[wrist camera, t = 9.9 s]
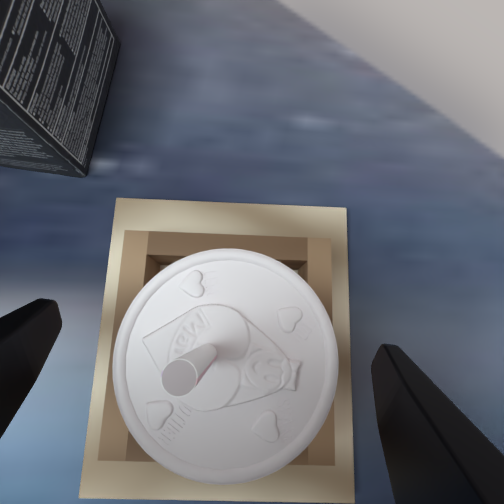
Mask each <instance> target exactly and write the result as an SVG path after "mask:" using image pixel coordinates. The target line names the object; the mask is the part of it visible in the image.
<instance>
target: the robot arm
mask: <svg viewBox="0 0 504 504" xmlns="http://www.w3.org/2000/svg"><path fill="white" fill-rule="evenodd" d="M61 327H62V319H61V316H60V312H59V308H58V304H57V302H56V301H55V300H50V299H43V298H40V299H37V300H35V301H33V302H31V303H29V304H27V305H25V306H23V307H21V308H19V309H17V310H15V311H13V312H11V313H9V314H7V315H5V316H3V317H1V318H0V438H1V437H2V435H3V434H4V432H5V430H6V429H7V427H8V426H9V424H10V422H11V421H12V419H13V417H14V416H15V414H16V413H17V411H18V409H19V408H20V406H21V405H22V403H23V401H24V400H25V398H26V396H27V395H28V393H29V392H30V390H31V388H32V387H33V385H34V383H35V381H36V380H37V378H38V376H39V374H40V372H41V370H42V368H43V366H44V364H45V362H46V360H47V357H48V355H49V353H50V351H51V349H52V347H53V345H54V343H55V341H56V339H57V337H58V335H59V333H60V330H61ZM371 373H372V382H373V391H374V399H375V408H376V416H377V423H378V429H379V434H380V438H381V443H382V447H383V451H384V456H385V460H386V465H387V469H388V473H389V478H390V482H391V486H392V491H393V495H394V500H395V504H504V455H503V454H502V453H501V452H500V451H499V450H498V449H497V448H496V447H495V446H494V445H493V444H492V443H491V442H490V441H489V440H488V439H487V438H486V436H485V435H484V434H483V433H482V432H481V431H480V430H479V429H478V428H477V427H476V426H475V425H474V424H473V423H472V422H471V421H470V420H469V419H468V418H467V417H466V416H465V415H464V414H463V413H462V412H461V411H460V410H459V409H458V408H457V407H456V405H455V404H454V403H453V402H452V401H451V400H450V399H449V398H448V397H447V396H446V395H445V394H444V393H443V392H442V391H441V390H440V389H439V388H438V387H437V386H436V385H435V384H434V383H433V382H432V381H431V380H430V379H429V378H428V377H427V375H426V374H425V373H424V372H423V371H422V370H421V369H420V368H419V367H418V366H417V365H416V364H415V363H414V362H413V361H412V360H411V359H410V358H409V357H408V356H407V355H406V354H405V353H404V352H403V351H402V350H401V349H400V348H399V347H398V346H396V345H391V344H382V345H380V347H379V349H378V351H377V353H376V355H375V358H374V360H373V362H372V365H371Z"/></svg>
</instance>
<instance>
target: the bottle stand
mask: <svg viewBox="0 0 504 504" xmlns="http://www.w3.org/2000/svg"><path fill="white" fill-rule="evenodd" d="M214 249H242V250H248V251H253V252H256V253H260V254H263V255H266V256H268V257H271V258H273V259H275V260H277V261H279V262H281V263H282V264H284V265H286V266H287V267H289V268H290V269H292V270H293V271H294V272H295V273H297V274H298V275H299V276H300V277H301V278H302V279H303V280H304V281H305V282H306V283H307V284H308V285H309V286H310V287H311V288H312V289H313V291H314V292H315V294H316V295H317V296H318V298H319V299H320V301H321V303H322V304H323V306H324V308H325V310H326V312H327V314H328V316H329V318H330V321H331V324H332V327H333V330H334V334H335V337H336V343H337V349H338V361H339V363H338V379H337V386H336V391H335V396H334V399H333V402H332V405H331V408H330V411H329V413H328V415H327V418H326V420H325V421H324V423H323V425H322V427H321V429H320V430H319V432H318V433H317V435H316V436H315V438H314V439H313V440H312V441H311V443H310V444H309V445H308V446H307V447H306V448H305V449H304V450H303V451H302V452H301V453H300V454H299V455H298V456H297V457H296V458H295V459H293V460H292V461H291V462H290V463H288V464H287V465H285V466H284V467H282V468H281V469H279V470H277V471H276V472H274V473H272V474H270V475H268V476H265V477H262V478H260V479H257V480H253V481H250V482H246V483H240V484H232V485H216V484H207V483H201V482H197V481H193V480H190V479H187V478H184V477H182V476H180V475H177V474H175V473H173V472H172V471H170V470H168V469H166V468H165V467H163V466H162V465H160V464H159V463H158V462H156V461H155V460H154V459H153V458H152V457H151V456H149V455H148V454H147V453H146V452H145V451H144V450H143V448H142V447H141V446H140V445H139V444H138V443H137V441H136V440H135V438H134V437H133V436H132V434H131V433H130V431H129V429H128V427H127V426H126V424H125V422H124V419H123V417H122V415H121V413H120V410H119V407H118V404H117V400H116V396H115V391H114V384H113V369H112V366H113V353H114V347H115V342H116V338H117V334H118V331H119V328H120V325H121V323H122V320H123V318H124V316H125V314H126V312H127V310H128V308H129V306H130V305H131V303H132V301H133V300H134V299H135V297H136V296H137V294H138V293H139V292H140V291H141V290H142V288H143V287H144V286H145V285H146V284H147V283H148V282H149V281H150V280H151V279H152V278H153V277H154V276H155V275H157V274H158V273H159V272H160V271H162V270H163V269H165V268H166V267H168V266H169V265H171V264H172V263H174V262H176V261H178V260H180V259H182V258H185V257H187V256H190V255H192V254H196V253H199V252H203V251H208V250H214ZM79 498H98V499H151V500H204V501H257V502H311V503H355V492H354V458H353V423H352V388H351V354H350V319H349V285H348V250H347V216H346V208H337V207H315V206H292V205H269V204H246V203H223V202H200V201H177V200H154V199H131V198H116V206H115V214H114V222H113V230H112V238H111V246H110V254H109V262H108V270H107V277H106V285H105V293H104V301H103V309H102V317H101V325H100V333H99V341H98V349H97V356H96V364H95V372H94V380H93V388H92V396H91V404H90V412H89V420H88V428H87V435H86V443H85V451H84V459H83V467H82V475H81V483H80V491H79Z"/></svg>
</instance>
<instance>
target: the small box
mask: <svg viewBox="0 0 504 504" xmlns="http://www.w3.org/2000/svg"><path fill="white" fill-rule="evenodd" d="M119 46H120V41H119V39H118V37H117V35H116V33H115V31H114V29H113V27H112V25H111V23H110V21H109V19H108V17H107V14H106V12H105V10H104V8H103V6H102V4H101V2H100V0H0V166H4V167H10V168H17V169H24V170H31V171H37V172H45V173H53V174H60V175H66V176H74V177H85V176H86V174H87V170H88V166H89V162H90V159H91V155H92V151H93V147H94V143H95V139H96V136H97V132H98V128H99V124H100V120H101V117H102V112H103V108H104V104H105V101H106V97H107V93H108V89H109V85H110V82H111V78H112V74H113V70H114V66H115V62H116V58H117V54H118V50H119Z"/></svg>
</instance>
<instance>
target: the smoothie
mask: <svg viewBox="0 0 504 504" xmlns="http://www.w3.org/2000/svg"><path fill="white" fill-rule="evenodd" d="M338 363H339V361H338V349H337V343H336V337H335V334H334V330H333V327H332V324H331V321H330V318H329V316H328V314H327V312H326V310H325V308H324V306H323V304H322V303H321V301H320V299H319V298H318V296H317V295H316V294H315V292H314V291H313V289H312V288H311V287H310V286H309V285H308V284H307V283H306V282H305V281H304V280H303V279H302V278H301V277H300V276H299V275H298V274H297V273H295V272H294V271H293V270H292V269H290V268H289V267H287V266H286V265H284V264H282V263H281V262H279V261H277V260H275V259H273V258H271V257H268V256H266V255H263V254H260V253H256V252H253V251H248V250H242V249H214V250H208V251H203V252H199V253H196V254H192V255H190V256H187V257H185V258H182V259H180V260H178V261H176V262H174V263H172V264H171V265H169V266H168V267H166V268H165V269H163V270H162V271H160V272H159V273H158V274H157V275H155V276H154V277H153V278H152V279H151V280H150V281H149V282H148V283H147V284H146V285H145V286H144V287H143V288H142V290H141V291H140V292H139V293H138V294H137V296H136V297H135V299H134V300H133V301H132V303H131V305H130V306H129V308H128V310H127V312H126V314H125V316H124V318H123V320H122V323H121V325H120V328H119V331H118V334H117V338H116V342H115V347H114V353H113V366H112V369H113V384H114V391H115V396H116V400H117V404H118V407H119V410H120V413H121V415H122V417H123V419H124V422H125V424H126V426H127V427H128V429H129V431H130V433H131V434H132V436H133V437H134V438H135V440H136V441H137V443H138V444H139V445H140V446H141V447H142V448H143V450H144V451H145V452H146V453H147V454H148V455H149V456H151V457H152V458H153V459H154V460H155V461H156V462H158V463H159V464H160V465H162V466H163V467H165V468H166V469H168V470H170V471H172V472H173V473H175V474H177V475H180V476H182V477H184V478H187V479H190V480H193V481H197V482H201V483H207V484H216V485H232V484H240V483H246V482H250V481H253V480H257V479H260V478H262V477H265V476H268V475H270V474H272V473H274V472H276V471H277V470H279V469H281V468H282V467H284V466H285V465H287V464H288V463H290V462H291V461H292V460H293V459H295V458H296V457H297V456H298V455H299V454H300V453H301V452H302V451H303V450H304V449H305V448H306V447H307V446H308V445H309V444H310V443H311V441H312V440H313V439H314V438H315V436H316V435H317V433H318V432H319V430H320V429H321V427H322V425H323V423H324V421H325V420H326V418H327V415H328V413H329V411H330V408H331V405H332V402H333V399H334V396H335V391H336V386H337V379H338Z"/></svg>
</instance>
